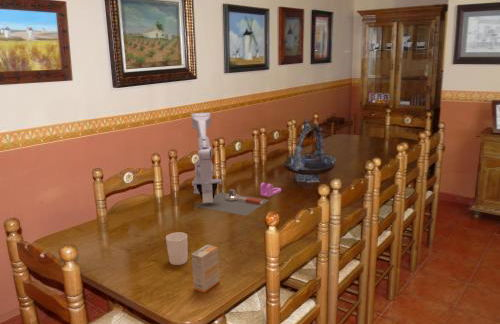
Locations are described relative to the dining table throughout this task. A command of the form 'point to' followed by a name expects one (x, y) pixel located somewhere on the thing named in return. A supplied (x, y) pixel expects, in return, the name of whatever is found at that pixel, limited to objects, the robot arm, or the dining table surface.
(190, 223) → the dining table surface
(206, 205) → the mat
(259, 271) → the dining table surface
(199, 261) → the supplement box
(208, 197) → the pale pink cube
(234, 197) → the ratchet
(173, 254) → the white cup
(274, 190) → the bracket
